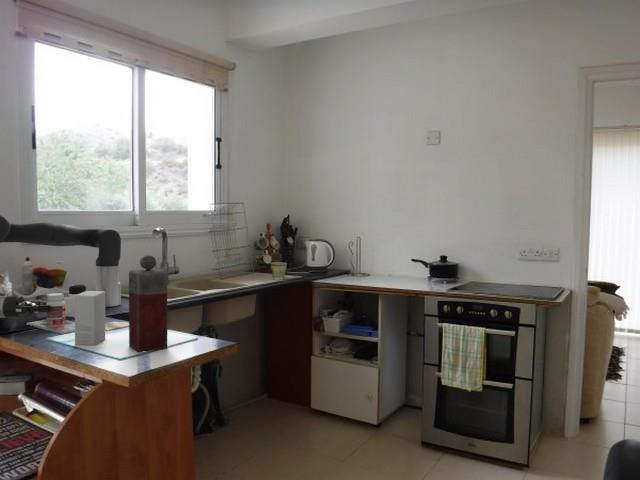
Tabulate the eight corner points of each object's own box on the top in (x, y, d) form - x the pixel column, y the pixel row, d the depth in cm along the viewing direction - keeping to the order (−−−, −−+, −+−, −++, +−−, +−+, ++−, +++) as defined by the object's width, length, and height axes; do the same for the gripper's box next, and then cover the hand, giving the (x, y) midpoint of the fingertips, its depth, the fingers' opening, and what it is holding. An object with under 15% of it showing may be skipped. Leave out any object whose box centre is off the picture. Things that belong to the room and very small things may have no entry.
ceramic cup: (282, 280, 316) (282, 264, 315) (267, 279, 319) (267, 263, 319) (291, 278, 328) (291, 262, 327) (276, 277, 331) (277, 261, 331)
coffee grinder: (155, 340, 166) (155, 253, 165) (167, 348, 157) (167, 255, 155) (126, 344, 161) (126, 254, 159) (137, 352, 152) (137, 257, 150)
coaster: (114, 322, 192) (114, 321, 192) (132, 325, 186) (132, 324, 186) (90, 327, 183) (89, 325, 183) (107, 331, 178) (107, 329, 178)
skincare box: (86, 338, 167) (86, 290, 166) (107, 339, 167) (106, 290, 166) (73, 345, 159) (73, 294, 158) (95, 345, 159) (94, 295, 158)
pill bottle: (66, 326, 183) (66, 294, 183) (47, 328, 180) (46, 296, 179) (64, 323, 188) (64, 292, 188) (45, 325, 185) (44, 293, 184)
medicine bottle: (91, 314, 205) (91, 284, 204) (76, 318, 198) (76, 286, 197) (78, 313, 208) (78, 283, 207) (63, 316, 201) (62, 285, 200)
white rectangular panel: (56, 320, 194) (56, 317, 194) (92, 328, 182) (92, 325, 182) (26, 325, 185) (26, 322, 185) (61, 333, 173) (61, 331, 172)
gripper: (-4, 299, 175) (47, 299, 177) (15, 292, 189) (62, 292, 191) (-4, 321, 175) (47, 321, 177) (16, 313, 189) (63, 312, 191)
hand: (55, 306), depth 184 cm, fingers open, 8 cm apart
